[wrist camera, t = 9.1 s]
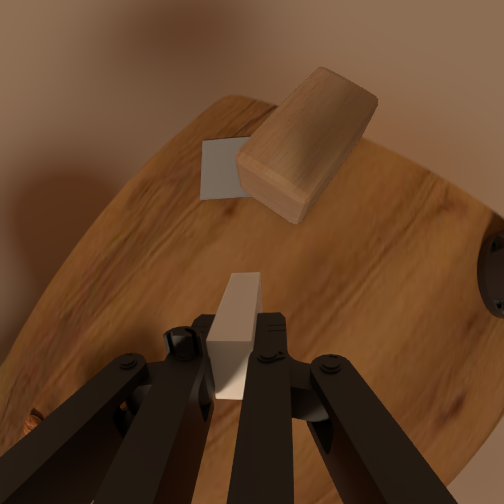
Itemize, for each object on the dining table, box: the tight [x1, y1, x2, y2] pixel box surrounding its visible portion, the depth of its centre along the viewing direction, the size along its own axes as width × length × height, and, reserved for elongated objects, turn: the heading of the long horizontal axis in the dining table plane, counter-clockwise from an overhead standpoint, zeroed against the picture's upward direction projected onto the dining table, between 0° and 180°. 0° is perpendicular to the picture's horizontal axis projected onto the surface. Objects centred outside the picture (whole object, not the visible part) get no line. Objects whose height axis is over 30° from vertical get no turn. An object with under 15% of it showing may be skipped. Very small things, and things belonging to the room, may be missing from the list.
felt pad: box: [200, 137, 252, 200], centre depth 42 cm, size 12×10×1 cm
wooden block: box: [235, 67, 378, 224], centre depth 36 cm, size 10×10×20 cm
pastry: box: [24, 415, 42, 436], centre depth 34 cm, size 9×7×4 cm
